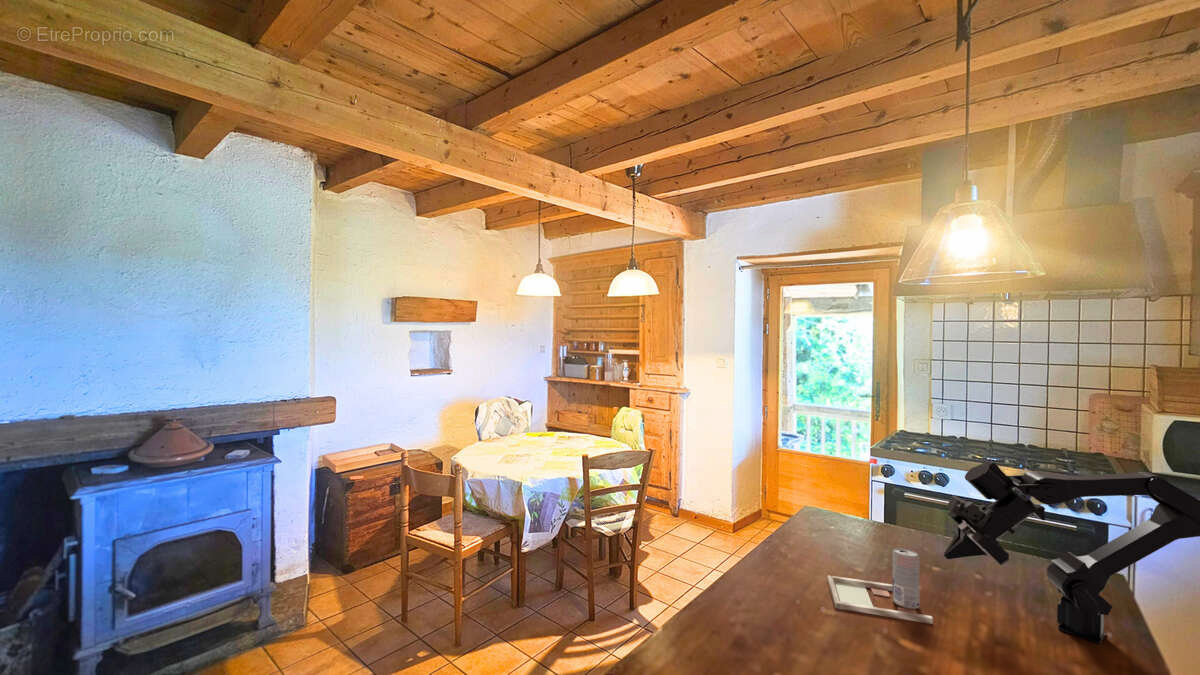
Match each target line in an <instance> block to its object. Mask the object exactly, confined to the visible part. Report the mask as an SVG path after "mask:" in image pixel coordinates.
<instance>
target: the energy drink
mask: <svg viewBox="0 0 1200 675" xmlns="http://www.w3.org/2000/svg"><path fill="white" fill-rule="evenodd" d="M892 585H893V591H892V601H893V602H894V603H895V605H897V606H898V607H900V608H907V609H913V610H917V609H919V607H920V557H919V554H918V552H916V551H914V550H912V549H907V548H901V547H898V548H897V547H896V548H894V549H893V551H892Z"/></svg>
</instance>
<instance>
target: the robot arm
mask: <svg viewBox="0 0 1200 675" xmlns="http://www.w3.org/2000/svg"><path fill="white" fill-rule="evenodd" d="M964 479H965V481H966V482H968V483H969V484H970V485H971V486H972V487H973V488H974V489H975V490H976V491H977V492H978V493H979V494H980V495H982V496H983V498H985V499H987V500H994V501H993V502H992V503H991V504H989V505H988V506H987V505H986V504H980V505H977V504H975V503H973V502H972V501H966V500H964V499H962V498H960V497H958V496H956V495H953V494H952V496H951V498H950V499H949V501H948V503H947V505H946V508H947V509H949V512H948V513H947V515H948V516H950V518H951V519H952V520H954V522H956V523H954V524H953V525H954V528H955V535H954V537H953V539H952V540H951V542H950V543H949V545H948V546H947V548H946V549H945V551H944V553H943V556H944V558H945V559H947V560H954V559H960V558H967V557H978V556H985V557H986V556H987V557H988V554H989V556H991V557H992V558H993V559H994V560H995V561H996V562H997V563H998V564H999V565H1000V566H1003V565H1004V564H1006V563H1008V561H1009V560H1010V558H1009V557H1010V554H1009V552H1007V551H1006V549H1004V548H1003V547H1002V546H1001V545H1000V542H999V541H998V539H1000V538H1001V537H1002V536H1004V535H1005V534H1007V533H1009V534H1010V535H1014V534H1015V533H1016V530H1014V528H1015V527H1017V526H1018V525H1020V524H1021V523H1022V522H1023V521H1025V520H1026V519H1028V518H1029V517H1031V516H1032V515H1034V516H1036V517H1037V518H1038V519H1040V520H1042V521H1046V513H1045V512H1046V511H1045V510H1046V507H1045V506H1043V505H1058V504H1063V503H1068V502H1072V501H1075V500H1076V499H1080V498H1085V497H1086V498H1087V497H1088V498H1089V497H1092V498H1093V497H1110V496H1111V497H1115V496H1117V497H1120V496H1147V497H1149V498H1150V499H1152V500H1153V501H1155V503H1157V505H1156V506H1155V508H1154V510H1153V512H1152V514H1151V516H1150V518H1148V519H1147V520H1145V521H1143V522H1142V523H1140V524H1138V525H1137V526H1135V527H1133V528H1131V529H1130V530H1128V531H1126V532H1125V533H1123V534H1121V535H1119V536H1117V537H1115V538H1114V539H1112V540H1111V541H1109V542H1107V543H1105V544H1104V545H1102V546H1100V547H1099V548H1096V549H1095V550H1093V551H1091V552H1089V553H1087V554H1085V555H1081V556H1076V555H1074V554H1073V553H1072V552H1070V551H1067V552H1065V553H1062V555H1061V556H1059V557H1058V558H1055V559H1051V560H1050V562H1051V564H1049V565H1048V566H1047V568H1046V576H1047V579H1048V580H1049V582H1050V583H1051V584H1052V585H1054V587H1055V588H1056V590H1057V592H1058V593H1060V594H1061V595H1062V597H1061V598H1060V600H1059V602H1058V603H1057V606H1056V614H1057V615H1056V622H1057V624H1059V625H1058V626H1057V629H1058V630H1059V631H1061V632H1064V633H1068V634H1070V635H1073V636H1076V637H1078V638H1081V639H1084V640H1087V641H1090V642H1092V643H1095V644H1101V643H1102V641H1103V639H1104V637H1105V635H1106V632H1107V631H1106V630H1104V627H1105V626H1104V622H1105V621H1104V620H1105V618H1104V616H1108V615H1109V614H1110V612H1111V610H1112V608H1113V606H1112V604H1110V603H1109V601H1107V600H1106V599H1105V598H1104V597H1102V595H1100V594H1101V593H1102V592H1103V591H1104V590H1105V588H1106V586H1107V584H1108V582H1109V579H1110V578H1111V577H1112V576H1114V575H1116V574H1117V573H1119V572H1121V571H1123V570H1125V569H1126V568H1129V567H1130V566H1132V565H1133V564H1136V563H1137V562H1139V561H1141V560H1142V559H1144V558H1146V557H1148V556H1149V555H1151V554H1153V553H1155V552H1157V551H1159V550H1160V549H1163V548H1164V547H1166V546H1168V545H1169V544H1172V543H1173V542H1175V541H1177V540H1181V539H1189V538H1191V539H1192V538H1198V537H1200V498H1198V497H1195V496H1193V495H1191V494H1190V493H1188V492H1186V491H1184V490H1182V489H1180V488H1179V487H1177V486H1175V485H1174V484H1173V483H1171V482H1169V481H1167V480H1168V479H1167V480H1166V479H1165V478H1164V477H1161V476H1159V475H1156V474H1153V473H1150V472H1148V471H1138V472H1130V473H1129V472H1127V473H1108V474H1107V473H1106V474H1103V473H1102V474H1084V475H1083V474H1079V475H1070V474H1069V475H1068V474H1061V473H1055V472H1049V471H1048V472H1047V471H1039V470H1038V471H1037V470H1036V471H1035V470H1031V471H1026V472H1024V474H1020V475H1019V474H1017V475H1007V474H1006V473H1005V472H1004V471H1002V469H1001V468H1000V467H999V465H997V464H996V462H994V461H992V460H989V461H987V462H986V463H981V464H978V465H976V466H973V467H971V468H970V469H969V470H968V471H967V472H966V473H965V475H964ZM1013 489H1014V490H1013ZM1015 490H1016V491H1019V492H1020V493H1022V494H1018V493H1017V492H1016V491H1015ZM1028 496H1029V497H1031V498H1033V499H1034V500H1036V501H1038V502H1039V503H1041V504H1043V505H1041V504H1036V503H1035V502H1033V500H1031V499H1030V498H1029V497H1028ZM957 524H958V525H957ZM986 552H987V553H986Z"/></svg>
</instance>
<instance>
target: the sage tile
mask: <svg viewBox="0 0 1200 675" xmlns="http://www.w3.org/2000/svg"><path fill="white" fill-rule="evenodd" d="M834 584H835V588H836V591H837V595H838V598H839V601H840V602H846V603H852V604H859V605H865V606H871V607H874V605H873V603H872V601H871V598H870V595H869V593H868V591H867V587H864V586H857V585H850V584H844V583H837V582H835V583H834Z"/></svg>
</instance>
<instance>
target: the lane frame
mask: <svg viewBox="0 0 1200 675" xmlns="http://www.w3.org/2000/svg"><path fill="white" fill-rule="evenodd" d="M835 582H837V583H844V584H850V585H857V586H864V587H865V588H866V589H867V588H868V589H870V590H871V592H872V595H873V596H878V597H883V598H884V597H885V598H891V595H890V593H889V592H893V583H892V584H891V583H885V582H877V581H871V580H863V579H857V578H856V579H855V578H851V577H849V578H848V577H844V576H843V577H842V576H835V575H827V583H828V586H829V590H830V594H831V597H832V601H833V605H834V608H835V609H839V610H845V611H850V612H851V611H852V612H856V613H857V612H858V613H862V614H869V615H874V616H875V615H877V616H882V617H889V618H893V619H894V618H895V619H899V620H907V621H913V622H918V623H925V624H930V625H933V624H934V622H933V621H934V620H933V616H932V615H927V614H920V613H918V612H917V611H916V609H907V608H903V607H901V606H897V608H896V609H897V610H895V609H890V608H883V607H877V606H873V607H871V606H865V605H859V604H852V603H846V602H840V599H839V596H838V593H837V589H836V586H835Z"/></svg>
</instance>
